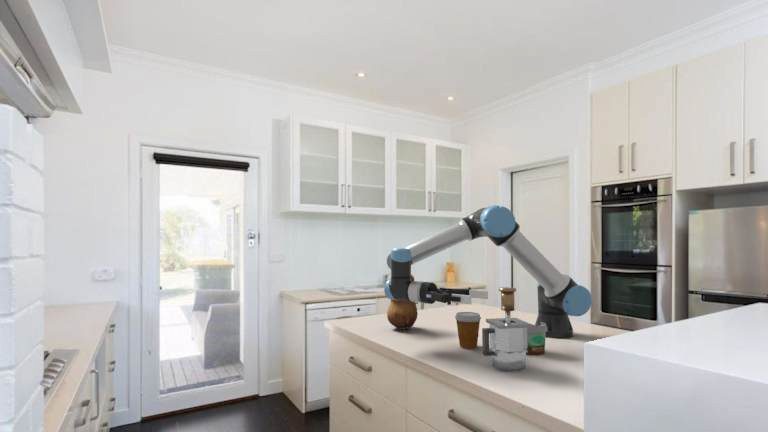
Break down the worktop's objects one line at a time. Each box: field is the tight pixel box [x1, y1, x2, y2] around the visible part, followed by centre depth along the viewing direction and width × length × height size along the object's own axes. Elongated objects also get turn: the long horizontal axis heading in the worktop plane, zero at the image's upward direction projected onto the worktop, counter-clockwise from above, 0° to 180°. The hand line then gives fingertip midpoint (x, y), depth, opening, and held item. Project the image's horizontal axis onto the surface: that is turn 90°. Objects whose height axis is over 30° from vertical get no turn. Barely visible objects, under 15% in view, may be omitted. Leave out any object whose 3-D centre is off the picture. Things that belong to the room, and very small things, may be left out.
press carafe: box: [481, 317, 533, 373], centre depth 131 cm, size 13×10×14 cm
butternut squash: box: [386, 273, 418, 330], centre depth 185 cm, size 14×13×25 cm
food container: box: [526, 322, 548, 357], centre depth 145 cm, size 12×6×10 cm, turn 117°
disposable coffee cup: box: [454, 311, 482, 350], centre depth 155 cm, size 10×10×12 cm
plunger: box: [498, 286, 517, 323], centre depth 132 cm, size 8×8×18 cm
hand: (479, 297), depth 137 cm, fingers open, 13 cm apart
